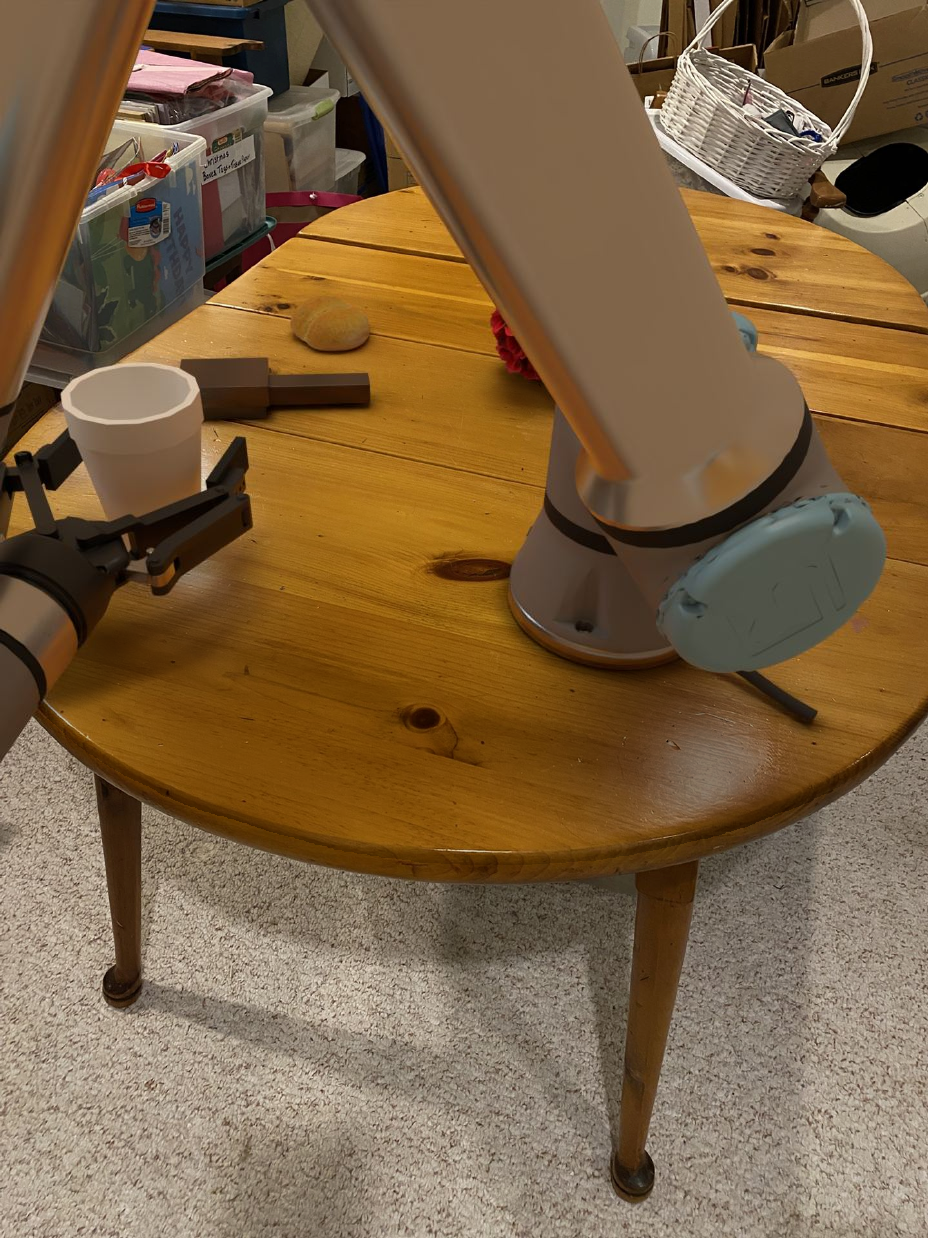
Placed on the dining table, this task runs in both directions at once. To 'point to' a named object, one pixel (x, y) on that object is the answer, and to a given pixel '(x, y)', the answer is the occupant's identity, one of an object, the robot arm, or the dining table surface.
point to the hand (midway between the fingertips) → (164, 441)
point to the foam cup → (137, 435)
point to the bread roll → (330, 324)
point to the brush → (266, 387)
